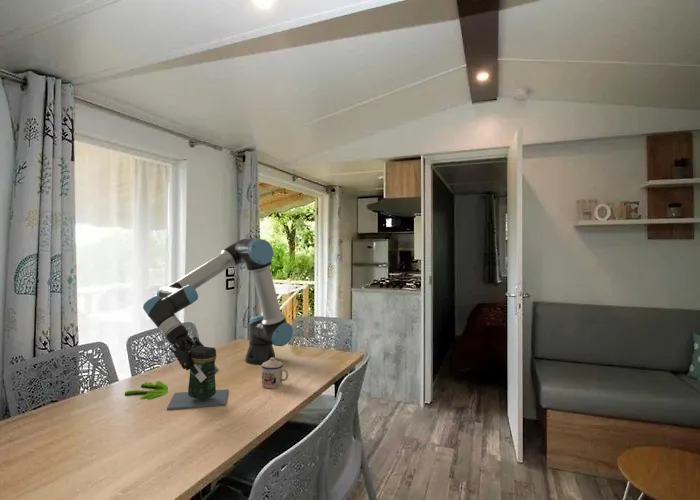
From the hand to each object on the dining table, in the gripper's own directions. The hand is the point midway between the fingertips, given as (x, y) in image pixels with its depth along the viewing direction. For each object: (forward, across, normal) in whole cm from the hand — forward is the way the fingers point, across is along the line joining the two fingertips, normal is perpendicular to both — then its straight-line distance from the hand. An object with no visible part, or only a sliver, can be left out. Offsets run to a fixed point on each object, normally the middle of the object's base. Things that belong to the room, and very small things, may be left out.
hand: (210, 376), depth 146 cm
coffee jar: (+3, 0, -8) cm, 9 cm away
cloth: (-15, -4, -29) cm, 33 cm away
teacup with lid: (+19, -22, +5) cm, 30 cm away
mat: (+3, 0, -10) cm, 11 cm away
